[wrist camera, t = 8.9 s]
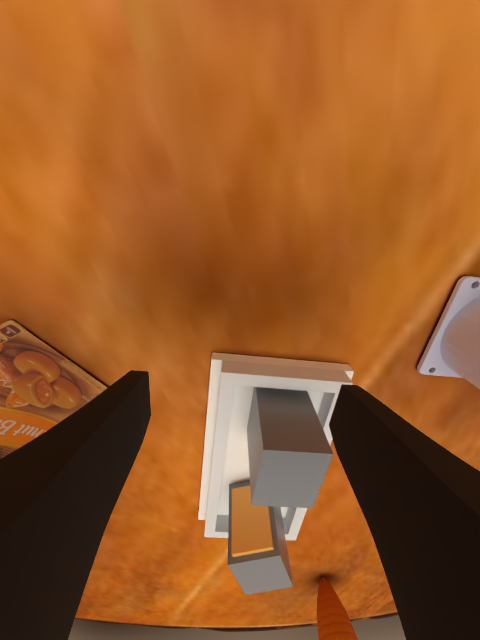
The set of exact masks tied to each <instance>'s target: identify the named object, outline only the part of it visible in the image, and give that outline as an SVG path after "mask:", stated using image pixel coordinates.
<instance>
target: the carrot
mask: <svg viewBox="0 0 480 640" xmlns="http://www.w3.org/2000/svg"><path fill="white" fill-rule="evenodd" d="M317 623H318V636H319V640H358V639H357V637H356V634H355V632H354V629H353V627H352V624H351V622H350V620H349V617H348V615H347V613H346V610H345V608H344V607H343V605H342V603H341V601H340V599H339V597H338V596H337V594H336V592H335V591H334V589H333V588H332V586H331V585H330V583H329V582H328V581H327V580H326V579H325V578H324V577H322V578H321V580H320V582H319V589H318V597H317Z"/></svg>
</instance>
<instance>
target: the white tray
mask: <svg viewBox="0 0 480 640" xmlns="http://www.w3.org/2000/svg"><path fill="white" fill-rule="evenodd" d="M353 373H354V371H353V369H352V368H351V367H350V366H349V364H339V363H328V362H317V361H305V360H294V359H283V358H271V357H260V356H248V355H237V354H226V353H214V352H212V359H211V370H210V383H209V395H208V407H207V419H206V431H205V444H204V456H203V468H202V480H201V492H200V504H199V517H198V520H206V523H205V534H204V537H218V538H228V524H229V484H232V483H236V482H241V481H246V480H250V474H249V457H248V441H247V425H248V419H249V413H250V408H251V402H252V396H253V390H254V387H264V388H277V389H290V390H302V391H307V392H308V394H309V397H310V399H311V401H312V404H313V406H314V409H315V411H316V413H317V416H318V418H319V421H320V423H321V426H322V428H323V430H324V433H325V435H326V438H327V440H328V442H329V445H330V444H331V442H332V435H331V431H330V428H329V422H330V419H331V416H332V413H333V410H334V407H335V404H336V400H337V397H338V394H339V391H340V388H341V385H342V384H345V385H352V384H353V383H352V381H351V379H352V376H353ZM306 510H307V508H296V507H281V513H282V520H283V526H284V532H285V539H286V540H296V538H297V535H298V532H299V530H300V527H301V524H302V521H303V519H304V516H305V513H306Z"/></svg>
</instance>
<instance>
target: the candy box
mask: <svg viewBox="0 0 480 640" xmlns="http://www.w3.org/2000/svg"><path fill="white" fill-rule="evenodd" d="M106 389H107V387H106V386H104V385H103V384H102V383H100V382H99V381H97V380H96V379H95V378H93V377H92V376H90V375H89V374H88V373H86V372H85V371H84V370H82V369H81V368H79V367H78V366H77V365H75V364H74V363H72V362H71V361H69V360H68V359H66V358H65V357H64V356H62V355H61V354H59V353H58V352H57V351H55V350H54V349H52V348H51V347H49V346H48V345H47V344H45V343H44V342H42V341H41V340H39V339H38V338H36V337H35V336H34V335H32V334H31V333H29V332H28V331H27V330H26V329H25V328H24V327H23V326H21V325H20V324H19V323H17V322H16V321H14V320H13V321H12V320H10V321H7V322H5V323H3V324H0V459H1V458H3V457H5V456H6V455H8V454H10V453H12V452H13V451H15V450H17V449H18V448H20V447H22V446H23V445H25V444H27V443H28V442H30V441H32V440H33V439H35V438H36V437H38V436H40V435H41V434H43V433H44V432H46V431H47V430H49V429H50V428H52V427H53V426H55V425H56V424H58V423H59V422H61V421H62V420H64V419H65V418H67V417H68V416H70V415H71V414H73V413H74V412H75V411H77V410H78V409H80V408H81V407H83V406H84V405H85V404H87V403H88V402H90V401H91V400H92V399H94V398H95V397H96V396H98V395H99V394H100V393H102V392H103V391H104V390H106Z"/></svg>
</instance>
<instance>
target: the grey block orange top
mask: <svg viewBox="0 0 480 640" xmlns="http://www.w3.org/2000/svg"><path fill="white" fill-rule="evenodd" d="M228 566H229V568H230V570H231V571H232V573H233V574H234V576H235V578H236V579H237V581H238V583H239V584H240V586H241V588H242V589H243V591H244V593H245V594H246V595H248V594H254V593H259V592H265V591H271V590H277V589H283V588H289V587H293V583H292V576H291V570H290V564H289V557H288V551H287V545H286V539H285V532H284V526H283V520H282V513H281V507H274V506H253V505H251V491H250V480H246V481H241V482H236V483H232V484H229V524H228Z"/></svg>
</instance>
